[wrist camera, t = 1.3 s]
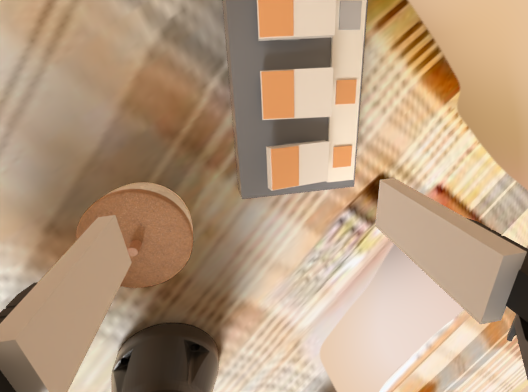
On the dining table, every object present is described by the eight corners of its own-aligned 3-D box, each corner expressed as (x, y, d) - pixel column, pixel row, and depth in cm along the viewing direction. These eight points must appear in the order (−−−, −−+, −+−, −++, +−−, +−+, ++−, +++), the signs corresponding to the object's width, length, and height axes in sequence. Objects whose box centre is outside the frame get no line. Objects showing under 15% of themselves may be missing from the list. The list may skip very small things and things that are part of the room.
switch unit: (339, 177, 37) (359, 189, 32) (238, 188, 34) (243, 202, 30) (349, -16, 29) (377, -39, 24) (220, -19, 27) (223, -45, 22)
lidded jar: (111, 160, 30) (73, 185, 22) (204, 183, 33) (203, 212, 25) (98, 242, 33) (60, 292, 25) (185, 256, 36) (178, 305, 28)
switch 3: (322, 178, 31) (328, 181, 30) (267, 188, 28) (272, 191, 27) (323, 140, 29) (330, 141, 28) (266, 146, 27) (270, 148, 26)
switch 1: (331, 37, 25) (335, 34, 24) (258, 41, 25) (258, 38, 24) (334, -21, 23) (337, -27, 22) (255, -17, 23) (255, -23, 22)
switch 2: (329, 115, 27) (331, 116, 26) (262, 119, 27) (262, 120, 26) (330, 68, 26) (333, 67, 25) (260, 71, 26) (260, 70, 25)
